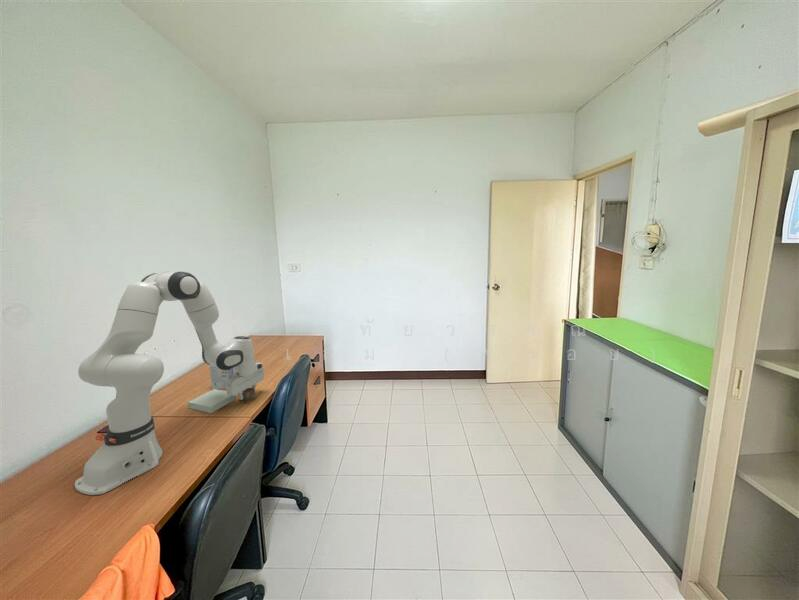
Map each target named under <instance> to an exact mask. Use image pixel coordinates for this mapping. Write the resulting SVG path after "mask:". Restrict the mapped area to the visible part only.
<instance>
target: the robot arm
mask: <svg viewBox="0 0 799 600" xmlns="http://www.w3.org/2000/svg"><path fill="white" fill-rule="evenodd" d="M164 301H167V302H176V301H179V302H181V304H182V307H183V308H184V310H185V313H186V314H187V316H188V318H189V320H190V322H191V324H192V325H193V327H194V329H195V333H196V335H197V337H198V339H199V343H200V345H201V356H202V357H201V358H202V360H203V362H204V363H205V364H206V365H208V366H214V367H216V368H219V369H221V370H229V369H231V368H233V370H234V375H232V376H230V377H229V378H228V380H227V389H226V391H227V395H229V396H235V395H236V396H238V397H239V398H240V399H239V401H240V400H243V399H245V395H242V393H243V391H244V390H246V389H248V388H253V389H255V390H256V388H257V384H258V383H260V382H262V381H264V379H265V370H264V363H262V362H257V361H255V359H254V356H255V355H254V354H255V352H254V349H255V348H254V345H253V340H252V338H250V337H249V336H241V335H240V336H235V337H233V338H232V340H231V341H230V342H229V343H228V344H226V345H225V346H224V345H223V344H221V343H220V342H219V341H218V339H217V337H216V334H215V331H214V329H213V328H214V327H213V324H215V323H216V322H217V321H218V319H219V317H220V313H219V309H218V305H217V303H216V301H215V298H214V297H213V295H212V293H211V291H210V290H209V287H207V285H206V284H205V283H204V282H203V281H201V280H198V279H197V277H196V276H195V275H194V274H192V273H190V272H186V271H162V272H161V271H160V272H158V273H157V272H156V273H155V272H154V273H151V274H147V275H146V276H145V277H143V278H142V279H141V281H136V282H132V283H130V284H129V285H127V287H126V289H125V290H124V292H123V294H122V296H121V298H120V300H119V303H118V306H117V310H116V313H115V316H114V318H113V319H114V320H113V322H112V325H111V328H110V331H109V333H108V335H107V337H105V340H104V341H103V343H102V344H101V345H100V346H99V347H98V348H97V350H96V351H94V352H93V353H92V354H91V355H89V356H87V357H86V358H84V359H83V360H82V362H81V363H79V364H80V365H79V366H78V370H77V371H78V377H79V378H80V380H81V381H83V382H84V383H87V384H89V385H94V386H97V387H110V388H114V389H115V392H116V393H115V395H116V396H115V398H114V399H113V400H111V401H110V402H108V405H107V406H106V409H105V413H106V417H107V419H106V420H107V425H108V429H107V432H106V434H105V433H104V434H103V433H98V434H96V436H95V440H96V441H100V442H102V441H104V442H103V444H102V445H100V447H99V448H98V449H97V450H96V452H95V453H93V454H92V455H91V456H90V458H89V459H88V460H87V461H86V462H85V463H84V467H83V475H82V476H80V477H78V478H77V479H76V480H75V482H74V488H75V490H76V491H77V492H79V493H81V494H84V495H89V496H95V495H103V494H106V493H107V492H109V491H111V490H113V489H115V488H118V487H119V486H121V485H123V484H125V483H127V482H129V481H130V479H131V480H132V478H133V479H134V477H135V478H137V477H138V476H141V475H143V474H145V473H147V472H148V471H150V470H152V469H153V468H156V467H157V466H158V465H159V462H160V461H159V460H160V459H161V457H162V455H163V451H164V450H163V448H161V446H160V444H159V442H158V439H157V437H156V434H155V433H156V432H155V430H156V429H155V421H154V417H153V415H152V412H151V403H150V401H151V400H150V397H151V391H152V389H153V387H154V386H155V385H156V384H157V383H158V382H159V381H160V380H161V379H162V378H163V375H164V372H165V367H164V363H163V361H162V360H161V358H159V357H156V356H152V355H149V354H145V353H136V352H137V350H138V349H139V347H140V346H141V345H142V344H143V343H145V342H147V341H149V340H150V339H152V337H153V335H154V331H155V326H156V323H157V319H158V316H159V312H160V306H161V304H162V303H163V302H164ZM136 476H137V477H136ZM128 480H129V481H128ZM126 481H127V482H126ZM124 482H125V483H124ZM122 483H123V484H122Z"/></svg>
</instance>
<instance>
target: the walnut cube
mask: <svg viewBox="0 0 799 600" xmlns="http://www.w3.org/2000/svg"><path fill="white" fill-rule="evenodd" d="M256 394H257V393H256V388H255V389H253V388H251V387H249V388H248V389H246V390H244V391H243V393H242V395H245V399H243V400H240V398H239V402H240V403H245V404H249V403H250V402H252V401H254V400H255V399H257V398H256V397H257V396H256Z"/></svg>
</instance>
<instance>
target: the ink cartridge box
mask: <svg viewBox="0 0 799 600" xmlns="http://www.w3.org/2000/svg"><path fill="white" fill-rule="evenodd" d="M209 373H210V383H211V384H210V385H211V390H213V389H217V390H227V380H228V378H229V377H230V376H232V375H234V374H235V369H234V368H231V369H229V370H221V369H219V368H216V367H214V366H212V365H210V367H209Z"/></svg>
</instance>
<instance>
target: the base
mask: <svg viewBox="0 0 799 600" xmlns="http://www.w3.org/2000/svg"><path fill="white" fill-rule="evenodd" d="M236 400H237V395H235V396H229V395H227V390H223V389H211V390H209V391H207V392H206V393H205V392H204V393H203V394H202V395H200V396H196V397H195V398H193V399H191V400H189V401H187V406H188V409H191V410H195V411H200V412H203V413H209V414H212V413H214V412H216V411H218V410H219V409H221V408H223V407H225V406H226V405H229V404H230V403H233V401H236Z"/></svg>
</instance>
